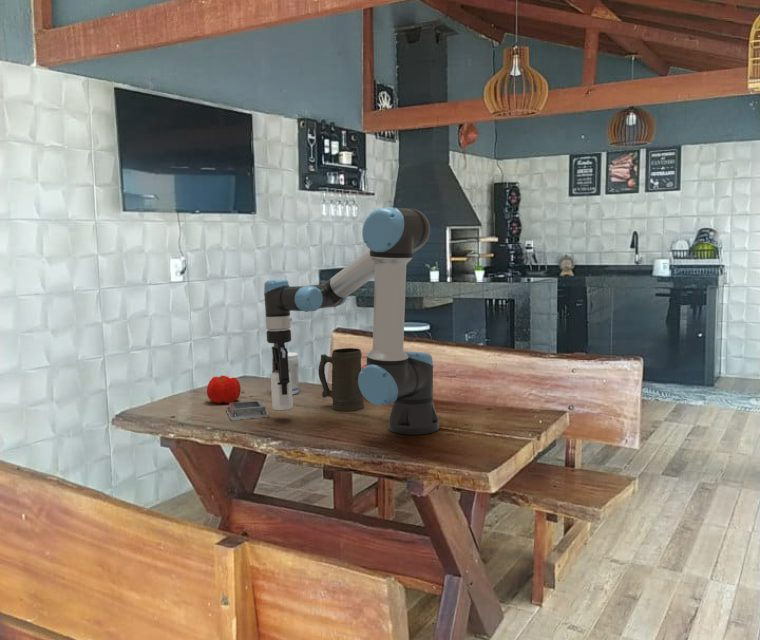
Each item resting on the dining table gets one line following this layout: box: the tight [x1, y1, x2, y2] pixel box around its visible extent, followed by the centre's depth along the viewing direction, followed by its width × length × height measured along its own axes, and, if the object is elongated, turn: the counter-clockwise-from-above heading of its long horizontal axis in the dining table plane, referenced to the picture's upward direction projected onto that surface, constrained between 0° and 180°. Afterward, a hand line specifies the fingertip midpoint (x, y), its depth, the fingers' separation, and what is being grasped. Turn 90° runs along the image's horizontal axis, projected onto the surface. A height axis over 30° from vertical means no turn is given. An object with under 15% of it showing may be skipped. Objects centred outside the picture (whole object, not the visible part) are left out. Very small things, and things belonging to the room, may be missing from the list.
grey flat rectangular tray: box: [225, 399, 270, 421], centre depth 236 cm, size 14×12×3 cm
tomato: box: [206, 375, 242, 404], centre depth 253 cm, size 11×12×9 cm
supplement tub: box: [271, 351, 300, 396], centre depth 266 cm, size 10×10×15 cm
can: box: [270, 370, 294, 412], centre depth 227 cm, size 6×6×12 cm
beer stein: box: [317, 347, 365, 412], centre depth 242 cm, size 15×11×20 cm
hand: (282, 402), depth 227 cm, fingers closed on can, 6 cm apart
